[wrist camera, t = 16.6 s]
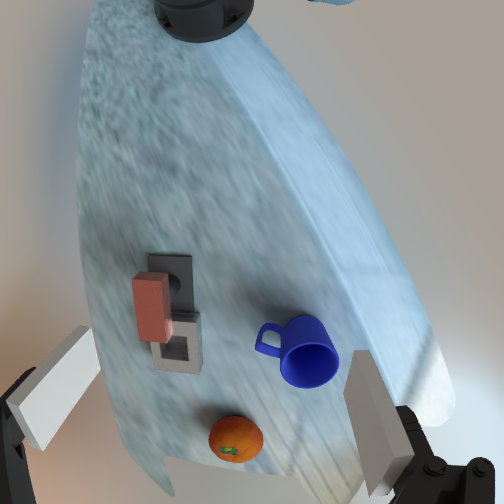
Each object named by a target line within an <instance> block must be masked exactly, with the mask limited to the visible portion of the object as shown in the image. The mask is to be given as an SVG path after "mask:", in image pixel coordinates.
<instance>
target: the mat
mask: <svg viewBox="0 0 504 504" xmlns="http://www.w3.org/2000/svg"><path fill="white" fill-rule="evenodd" d="M148 263H149V272H158V273H168V274H172V275H175V276H176V277H177V278H178V279H179V280H180V282H181V289H180V291H179V292H178V294H177V295H176V297H175V298H174V300H173V301H172V303H171V304H170V307H171V310H180V311H194V296H193V273H192V256H172V255H148Z"/></svg>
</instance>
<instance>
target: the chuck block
mask: <svg viewBox="0 0 504 504" xmlns="http://www.w3.org/2000/svg"><path fill="white" fill-rule="evenodd" d="M171 318H172V328H173V333H172V335H171V337H170V339H169V341H168V343H158V342H150V344H151V351H152V357H153V364H154V369H155V370H163V371H171V372H179V373H188V374H198V375H200V372H201V368H202V365H203V352H202V335H201V316H200V313H193V312H179V311H171Z"/></svg>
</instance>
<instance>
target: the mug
mask: <svg viewBox="0 0 504 504" xmlns="http://www.w3.org/2000/svg"><path fill="white" fill-rule="evenodd" d="M266 330H271V331H274V332H277V333H279V334H280V335H281V348H277V347H273V346H270V345H268V344H265V343H263V342H261V341H262V336H263V333H264V331H266ZM255 350H256V351H258V352H261V353H264V354H266V355H270V356H273V357H278V358H280V371H281V374H282V376H283V378H284V379H285V380H286V381H287V382H288V383H289V384H291V385H293V386H295V387H298V388H305V389H309V388H315V387H319V386H321V385H323V384H325V383H327V382H328V381H330V380H331V379H332V378H333V377H334V375H335V374H336V372H337V370H338V367H339V356H338V354H337V352H336V350H335V348H334V346H333V344H332V341H331V339H330V337H329V335H328V333H327V331H326V329H325V327H324V326H323V324H322V323H321V322H320V321H319V320H318V319H316V318H314V317H311V316H299V317H296V318H294V319H293V320H291V321H290V322H289V323H288V324H287V326H286V327H285V329H284V328H283V327H282V326H280V325H278V324H275V323H265V324H264V325H263V326H262V327H261V329H260V331H259V333H258V336H257V339H256V344H255Z"/></svg>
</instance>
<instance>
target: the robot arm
mask: <svg viewBox="0 0 504 504" xmlns="http://www.w3.org/2000/svg"><path fill="white" fill-rule="evenodd" d="M308 1H311V2H325V3H330V4H335V5H345V4H349V3H351V2H353V1H354V0H308ZM253 6H254V0H155V14H156V17H157V20H158V22H159V23H160V25H161V26H162V27H163V28H164V30H165V31H166V32H167V33H168V34H170V35H171V36H173V37H174V38H176V39H179V40H182V41H185V42H192V43H203V42H210V41H215V40H218V39H221V38H223V37H226V36H228V35H230V34H231V33H233V32H235V31H236V30H237V29H239V28H240V27H241V26H242V25H243V24H244V23H245V22H246V21H247V19H248V18H249V16H250V14H251V12H252V10H253ZM100 370H101V369H100V365H99V361H98V357H97V353H96V348H95V343H94V339H93V334H92V329H91V327H87V326H82V325H79V326H78V327H77V328H76V329H75V330H74V331H73V332H72V333H71V334H70V335H69V336H68V337H67V338H66V339H65V340H64V341H63V342H62V343H61V344H59V346H57V348H55V350H53V351H52V353H51V354H50V355H49V356H48V357H47V358H46V359H45V360H44V361H43V362H42V363H41V364H40V365H39V366H38V367H37V368H36V367H32V368H31V369H29V370H27V371H25V372H24V373H23V374H22V375H21V376H20V378H19V379H17V380H16V381H15V384H13V385H12V386H11V387H10V388H9V389H8V390H7V391H6V392H5V393H4V394H3V395H2V396H1V397H0V504H36V500H35V496H34V493H33V488H32V484H31V480H30V475H29V470H28V465H27V460H26V454H25V448H24V445H23V443H22V441H23V439H24V438H26V440H27V441H28V443H29V444H30V446H32V447H34V448H36V449H38V450H40V451H44V449H45V448H46V446H47V445H48V443H49V442H50V440H51V439H52V437H53V436H54V434H55V433H56V431H57V430H58V429H59V427H60V426H61V424H62V423H63V421H64V420H65V418H66V417H67V415H68V414H69V413H70V411H71V410H72V408H73V407H74V406H75V404H76V403H77V401H78V400H79V399H80V397H81V396H82V394H83V393H84V392H85V390H86V389H87V387H88V386H89V385H90V383H91V382H92V380H93V379H94V378H95V376H96V375H97V373H98V372H99V371H100ZM343 394H344V398H345V402H346V405H347V409H348V413H349V417H350V420H351V424H352V428H353V432H354V436H355V440H356V444H357V448H358V452H359V456H360V460H361V464H362V468H363V473H364V477H365V481H366V486H367V489H368V494H369V498H372V497H378V496H384V495H388V493H389V492H390V491H391V490H392V488H393V489H394V493H395V496H394V497H393V499H392V500H391V501H390V503H389V504H495V469H494V465H493V464H492V463H491V461H489V460H488V459H486V458H482V457H477V458H474V459H472V460H471V461H470V462H469V463H468V464H467V466H458V465H457V466H456V465H454V466H453V465H448V464H447V463H446V462H445V460H443V459H442V458H440V457H438V456H434V454H433V452H432V450H431V447H430V445H429V443H428V441H427V439H426V436H425V434H424V432H423V430H422V428H421V426H420V424H419V423H418V419H417V417H416V415H415V413H414V412H413V411H412V410H411V409H410V408H409V407H408V406H407V405H405V406H396V407H395V406H394V404H393V401H392V399H391V397H390V394H389V392H388V390H387V388H386V385H385V383H384V381H383V379H382V377H381V374H380V372H379V370H378V368H377V366H376V364H375V361H374V359H373V357H372V355H371V353H370V351H369V350H354V354H353V358H352V362H351V366H350V370H349V374H348V378H347V381H346V385H345V389H344V392H343Z"/></svg>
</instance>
